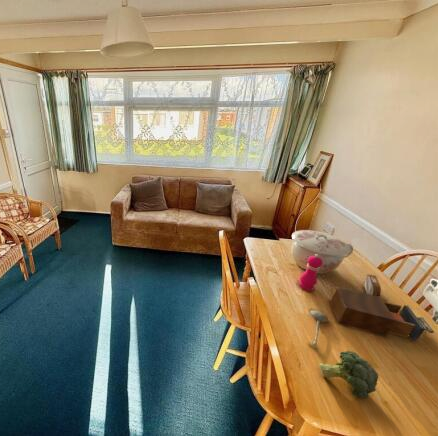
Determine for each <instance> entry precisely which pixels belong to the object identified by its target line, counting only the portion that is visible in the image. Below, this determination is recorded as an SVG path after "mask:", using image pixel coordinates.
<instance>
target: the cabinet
mask: <svg viewBox="0 0 438 436" xmlns="http://www.w3.org/2000/svg"><path fill="white" fill-rule="evenodd" d="M383 301H384V300H383V299H382V297H381V296H380V297H379V296H374V295H370V294H367V293H366V292H362V291H356V290H352V289H348V288H343V287H340V286H336V288H335V290H334V293H333V295H332V297H331V299H330V304H331V307H332V309H333V313H334V315H335V318H336V320H337V323H338V324H340V325H344V326H348V327H351V328H355V329H358V330H361V331H364V332H365V331H366V332H369V333H372V334H376V335H380V336H383V337H386V336H387V334H388V333H389V332H388V331H389V330H390V328H391V327H392V325H393V323H394V322H395V319H394V317H393V316H392V314H391V313H390V311H389V309H388V308H387V306H386V305H385V303H384V302H385V301H384V302H383Z"/></svg>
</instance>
